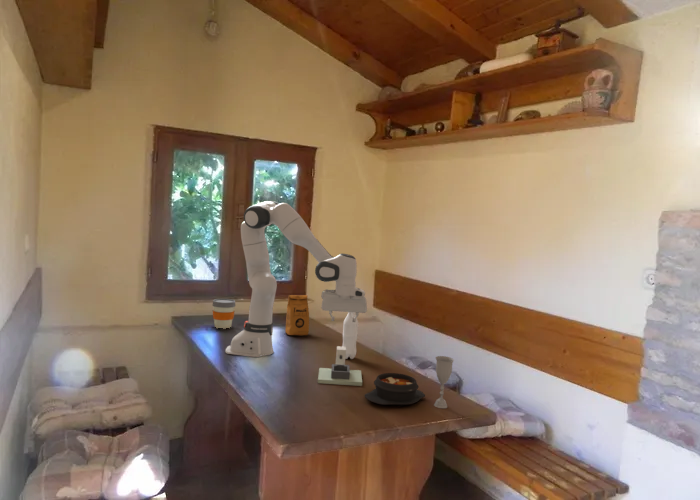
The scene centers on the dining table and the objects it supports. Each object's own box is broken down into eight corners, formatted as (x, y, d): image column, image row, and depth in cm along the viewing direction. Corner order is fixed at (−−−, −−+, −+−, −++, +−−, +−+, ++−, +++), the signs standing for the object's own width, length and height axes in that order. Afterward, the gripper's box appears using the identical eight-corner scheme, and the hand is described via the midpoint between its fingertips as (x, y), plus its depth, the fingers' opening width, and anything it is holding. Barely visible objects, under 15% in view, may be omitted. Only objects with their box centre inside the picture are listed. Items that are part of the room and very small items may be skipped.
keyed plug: (335, 371, 237) (336, 350, 236) (335, 365, 246) (337, 345, 245) (344, 371, 237) (345, 351, 236) (344, 365, 246) (345, 346, 245)
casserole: (384, 414, 191) (386, 391, 190) (353, 397, 206) (355, 375, 205) (435, 403, 206) (437, 381, 205) (403, 388, 221) (405, 368, 220)
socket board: (317, 383, 219) (318, 372, 219) (319, 371, 235) (319, 361, 235) (362, 385, 220) (362, 375, 219) (360, 373, 236) (361, 363, 235)
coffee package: (309, 336, 296) (312, 296, 294) (287, 336, 292) (289, 296, 290) (305, 332, 305) (308, 293, 304) (284, 332, 301) (286, 293, 300)
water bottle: (354, 360, 255) (358, 308, 253) (339, 358, 257) (343, 306, 255) (357, 356, 262) (360, 305, 260) (342, 355, 264) (346, 304, 262)
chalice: (429, 401, 207) (433, 355, 205) (447, 402, 207) (451, 356, 206) (434, 409, 199) (438, 361, 198) (452, 409, 200) (456, 362, 199)
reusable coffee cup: (209, 324, 307) (210, 298, 306) (231, 324, 312) (232, 298, 311) (213, 330, 295) (215, 302, 294) (236, 329, 301) (238, 302, 300)
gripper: (321, 290, 236) (319, 321, 237) (368, 293, 237) (366, 324, 238) (322, 288, 242) (320, 318, 244) (367, 290, 243) (365, 321, 244)
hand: (343, 321), depth 241 cm, fingers open, 8 cm apart
